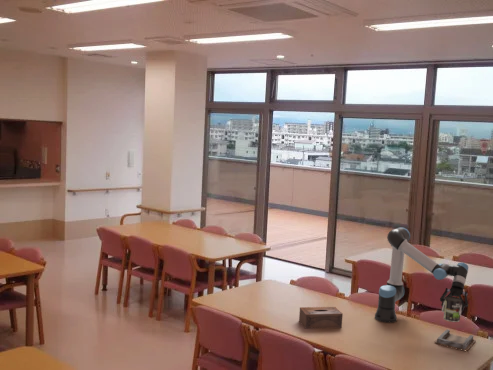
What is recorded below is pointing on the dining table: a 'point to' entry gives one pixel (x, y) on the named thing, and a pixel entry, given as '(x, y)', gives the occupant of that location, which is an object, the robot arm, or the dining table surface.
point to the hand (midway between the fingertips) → (451, 312)
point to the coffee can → (452, 309)
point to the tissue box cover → (320, 317)
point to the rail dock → (455, 340)
